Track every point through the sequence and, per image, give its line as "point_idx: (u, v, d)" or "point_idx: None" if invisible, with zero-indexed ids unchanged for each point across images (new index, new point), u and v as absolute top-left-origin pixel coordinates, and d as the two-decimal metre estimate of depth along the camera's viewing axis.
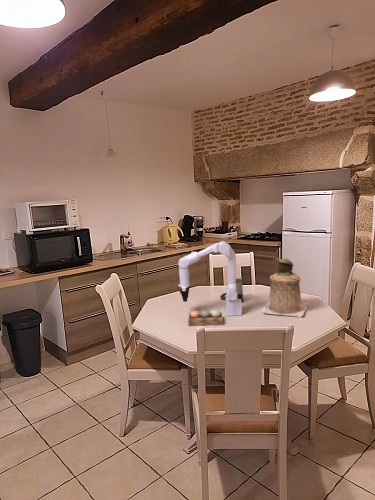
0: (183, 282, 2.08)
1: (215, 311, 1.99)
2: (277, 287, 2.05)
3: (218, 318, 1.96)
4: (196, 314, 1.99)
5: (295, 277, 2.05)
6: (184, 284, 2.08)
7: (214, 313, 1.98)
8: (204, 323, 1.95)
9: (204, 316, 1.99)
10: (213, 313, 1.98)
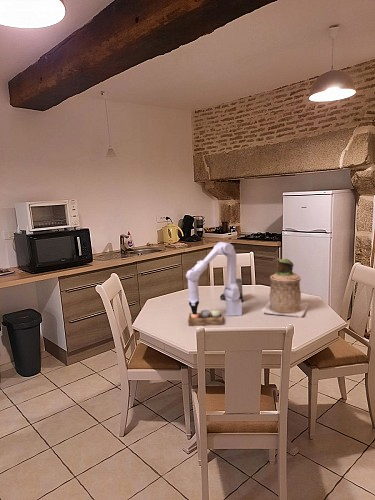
0: (192, 296, 1.97)
1: (215, 311, 1.99)
2: (277, 287, 2.05)
3: (218, 318, 1.96)
4: (196, 316, 1.99)
5: (295, 277, 2.05)
6: (193, 298, 1.97)
7: (214, 313, 1.98)
8: (204, 323, 1.95)
9: (204, 316, 1.99)
10: (213, 313, 1.98)
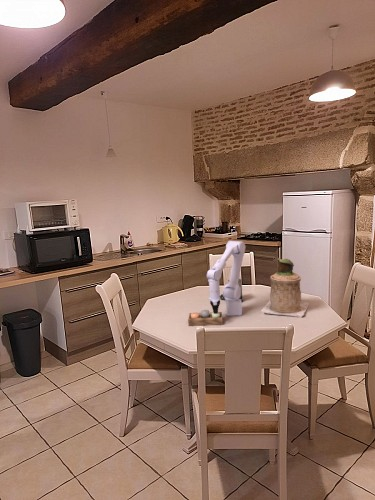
0: (214, 295, 1.96)
1: None
2: (277, 287, 2.05)
3: (218, 318, 1.96)
4: (196, 316, 1.99)
5: (295, 277, 2.05)
6: (215, 297, 1.96)
7: (214, 315, 1.98)
8: (204, 323, 1.95)
9: (204, 316, 1.99)
10: (213, 315, 1.99)
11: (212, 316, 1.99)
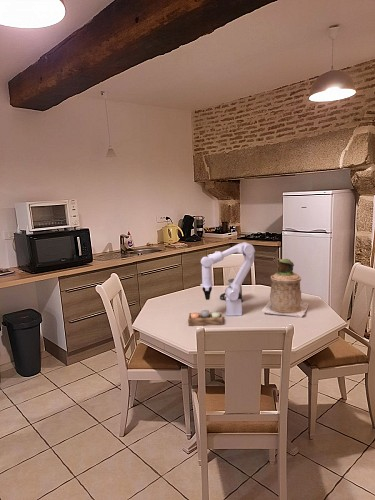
0: (206, 282, 2.04)
1: (215, 313, 2.00)
2: (278, 287, 2.05)
3: (218, 318, 1.96)
4: (196, 316, 1.99)
5: (296, 277, 2.05)
6: (207, 284, 2.04)
7: (214, 315, 1.98)
8: (204, 323, 1.95)
9: (204, 316, 1.99)
10: (213, 315, 1.99)
11: (212, 316, 1.99)
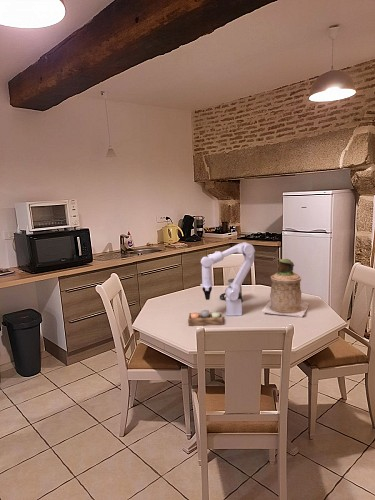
0: (206, 282, 2.04)
1: (215, 313, 2.00)
2: (278, 287, 2.05)
3: (218, 318, 1.96)
4: (196, 316, 1.99)
5: (296, 277, 2.05)
6: (207, 284, 2.04)
7: (214, 315, 1.98)
8: (204, 323, 1.95)
9: (204, 316, 1.99)
10: (213, 315, 1.99)
11: (212, 316, 1.99)
